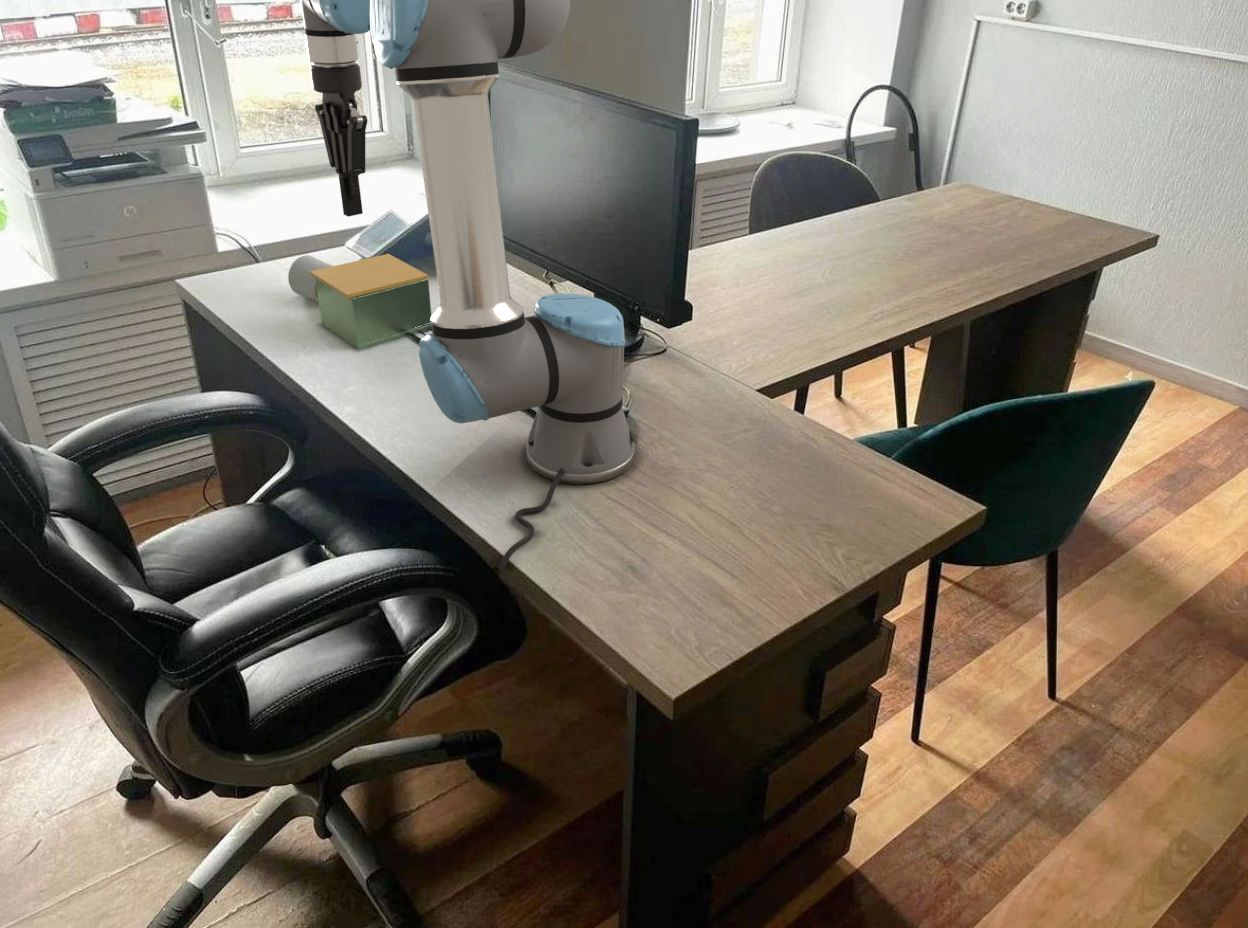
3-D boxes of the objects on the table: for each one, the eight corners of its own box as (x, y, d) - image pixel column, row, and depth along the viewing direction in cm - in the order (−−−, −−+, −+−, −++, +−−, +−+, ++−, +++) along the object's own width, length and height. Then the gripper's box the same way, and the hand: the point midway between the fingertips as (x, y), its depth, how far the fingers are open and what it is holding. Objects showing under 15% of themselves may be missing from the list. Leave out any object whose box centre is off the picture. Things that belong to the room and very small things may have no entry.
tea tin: (358, 349, 171) (352, 298, 166) (321, 324, 179) (314, 275, 174) (432, 328, 179) (428, 279, 174) (394, 305, 188) (388, 257, 183)
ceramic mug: (319, 310, 185) (314, 270, 181) (290, 299, 189) (284, 260, 185) (363, 294, 192) (359, 255, 188) (334, 284, 196) (329, 246, 192)
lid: (347, 298, 165) (347, 294, 165) (310, 275, 174) (309, 271, 174) (428, 278, 174) (428, 274, 174) (388, 257, 183) (388, 253, 182)
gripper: (377, 66, 152) (393, 219, 164) (336, 55, 161) (354, 201, 173) (332, 72, 148) (351, 228, 160) (292, 59, 156) (314, 209, 168)
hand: (353, 213), depth 166 cm, fingers closed
